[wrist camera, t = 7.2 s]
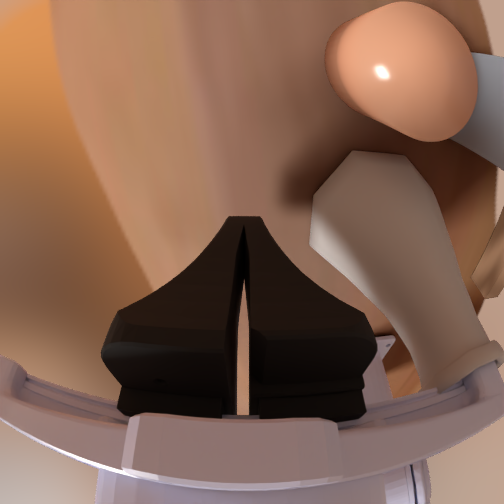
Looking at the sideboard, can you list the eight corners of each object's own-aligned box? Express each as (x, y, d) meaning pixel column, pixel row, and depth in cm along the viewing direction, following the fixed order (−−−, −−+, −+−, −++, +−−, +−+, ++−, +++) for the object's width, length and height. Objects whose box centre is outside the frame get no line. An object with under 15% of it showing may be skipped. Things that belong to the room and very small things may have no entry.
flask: (286, 251, 15) (313, 443, 7) (340, 124, 10) (513, 281, 3) (388, 275, 16) (446, 417, 8) (446, 179, 12) (564, 309, 4)
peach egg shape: (415, 127, 10) (466, 154, 7) (320, 109, 10) (353, 127, 7) (424, 36, 7) (479, 37, 4) (325, 7, 7) (360, -19, 4)
